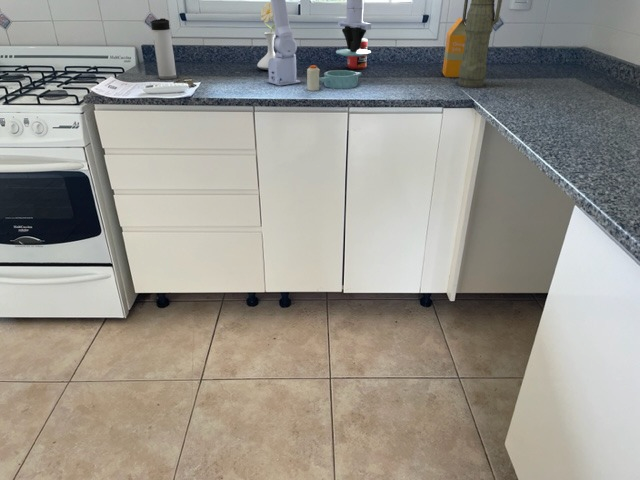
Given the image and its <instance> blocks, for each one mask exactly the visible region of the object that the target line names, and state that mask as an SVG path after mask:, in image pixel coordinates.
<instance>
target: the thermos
mask: <svg viewBox="0 0 640 480" xmlns="http://www.w3.org/2000/svg"><path fill="white" fill-rule="evenodd" d="M495 1H496V0H470V5H469V0H464V5H463V11H462V19H463V21H462V22H464V23H465V25H466V26H465V32H466V37H465V44H464V52H463V59H462V63H461V65H460V69H459V77H458V82H457V85H458V86H459V87H463V88H473V89H474V88H482V87H484V83H485V79H486V75H487V57H488V51H489V46H490V38H491V34H492V32H493V31H494V25H496V24H497V23H498V22H499V19H500V13H501V8H502V3H503V0H497V3H496V8H495ZM468 5H469V8H468ZM495 9H496V10H495Z"/></svg>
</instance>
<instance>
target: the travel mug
mask: <svg viewBox="0 0 640 480" xmlns="http://www.w3.org/2000/svg"><path fill="white" fill-rule="evenodd" d="M150 25H151V31H152V32H151V33H152V34H151V35H152V40H153V45H154V53H155V59H156V65H157V72H158V78H159V80H174V79H176V78H177V69H176V63H175V62H176V61H175V54H174V47H173V40H172V39H173V38H172V32H171V27H170V20H169V19H166V18H163V17H162V18H159V19H152V20H151V21H150Z"/></svg>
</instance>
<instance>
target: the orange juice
mask: <svg viewBox="0 0 640 480" xmlns="http://www.w3.org/2000/svg"><path fill="white" fill-rule="evenodd" d="M462 21H463V17H458V18H457V19H456V21H455V22H454V23H453V24H452V26H451V27H450V28H449V30H447V32H446V40H445V47H444V55H443V65H442V74H443V76H444V77H445V78H459V69H460V65H461V63H462V59H463V52H464V44H465V37H466V32H465V26H466V24H465V22H462Z"/></svg>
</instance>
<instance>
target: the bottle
mask: <svg viewBox="0 0 640 480" xmlns="http://www.w3.org/2000/svg"><path fill="white" fill-rule="evenodd" d="M306 82H307V83H306V87H307V88H306V90H307V91H311V92H313V91H314V92H316V91H320V68H318V67H317V65H315V64H314V65H309V67H308V68H307V69H306Z"/></svg>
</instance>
